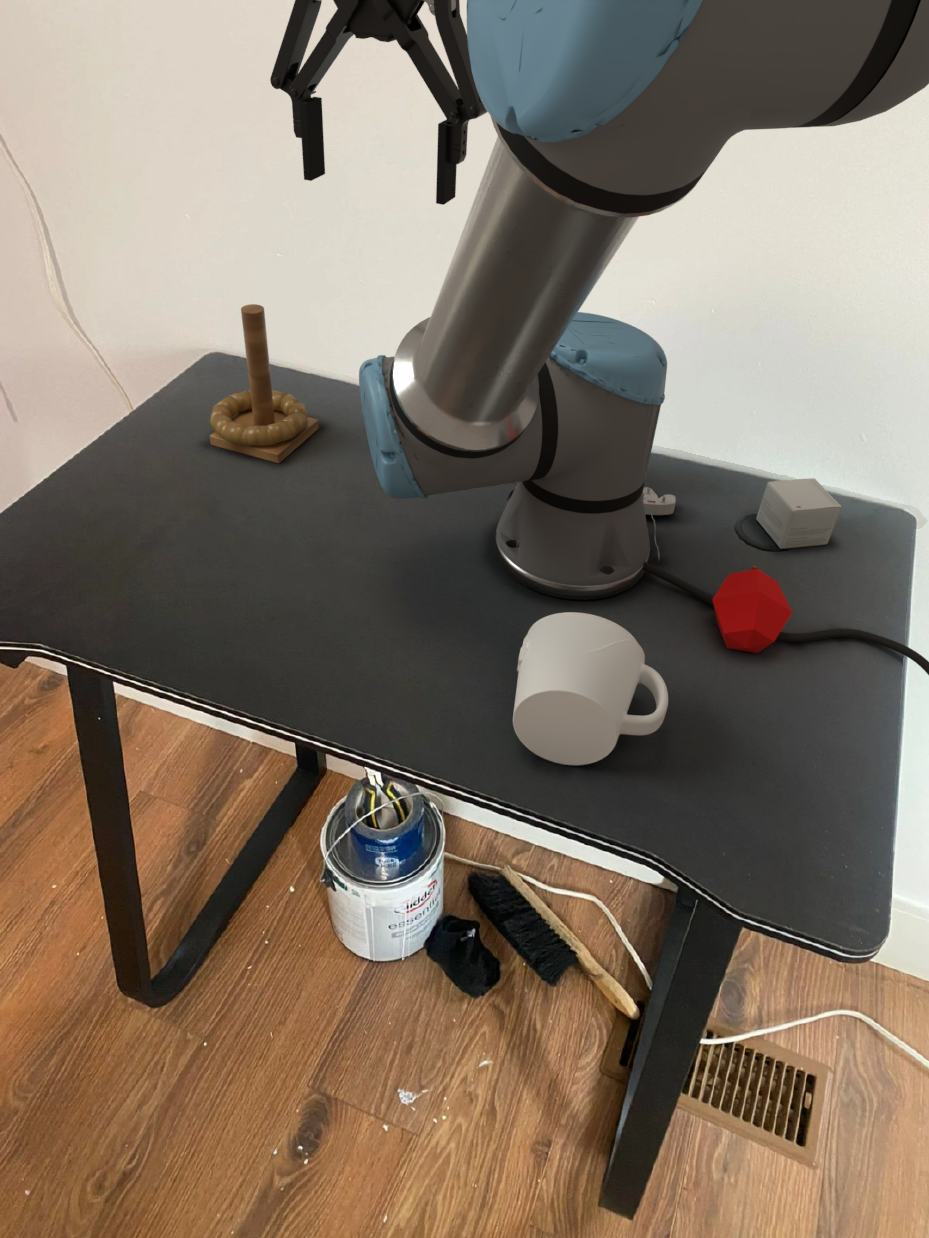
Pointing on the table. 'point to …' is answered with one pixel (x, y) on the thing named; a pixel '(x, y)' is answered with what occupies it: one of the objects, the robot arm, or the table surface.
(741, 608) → the apple
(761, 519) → the small box
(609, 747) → the mug
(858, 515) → the table surface
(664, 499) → the game controller
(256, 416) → the peg stand
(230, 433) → the ring
